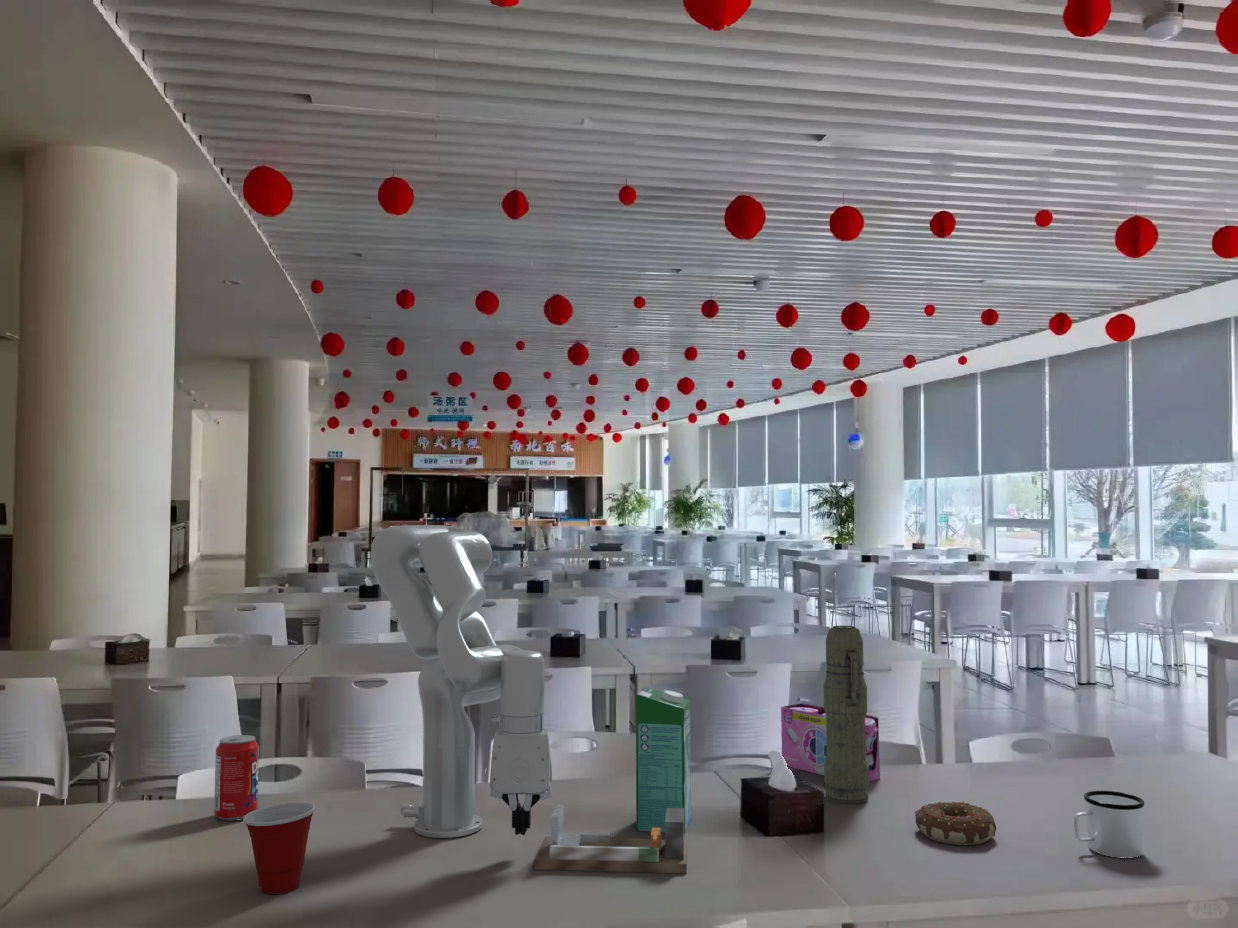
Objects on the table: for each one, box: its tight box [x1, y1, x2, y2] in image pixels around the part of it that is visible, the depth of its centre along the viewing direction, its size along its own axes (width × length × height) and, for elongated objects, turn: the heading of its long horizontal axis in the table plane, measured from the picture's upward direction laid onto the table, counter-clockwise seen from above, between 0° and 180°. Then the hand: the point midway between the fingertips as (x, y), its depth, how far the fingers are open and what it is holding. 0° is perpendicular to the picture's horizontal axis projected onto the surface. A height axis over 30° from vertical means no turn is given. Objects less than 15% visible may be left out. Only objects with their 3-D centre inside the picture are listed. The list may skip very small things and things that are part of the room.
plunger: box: [550, 803, 612, 846], centre depth 165 cm, size 10×7×6 cm
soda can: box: [213, 734, 260, 821], centre depth 189 cm, size 8×8×15 cm
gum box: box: [780, 702, 881, 783], centre depth 221 cm, size 24×8×14 cm, turn 39°
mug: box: [1073, 790, 1146, 858], centre depth 168 cm, size 12×10×9 cm
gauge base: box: [533, 808, 688, 874], centre depth 165 cm, size 25×12×8 cm, turn 85°
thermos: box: [822, 625, 870, 805], centre depth 202 cm, size 9×12×35 cm
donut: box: [914, 801, 998, 846], centre depth 177 cm, size 14×14×5 cm
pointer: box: [650, 828, 662, 850], centre depth 162 cm, size 2×7×3 cm, turn 175°
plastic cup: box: [242, 801, 316, 895], centre depth 152 cm, size 11×11×12 cm
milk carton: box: [635, 686, 692, 834], centre depth 183 cm, size 9×9×25 cm
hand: (521, 832), depth 166 cm, fingers closed
